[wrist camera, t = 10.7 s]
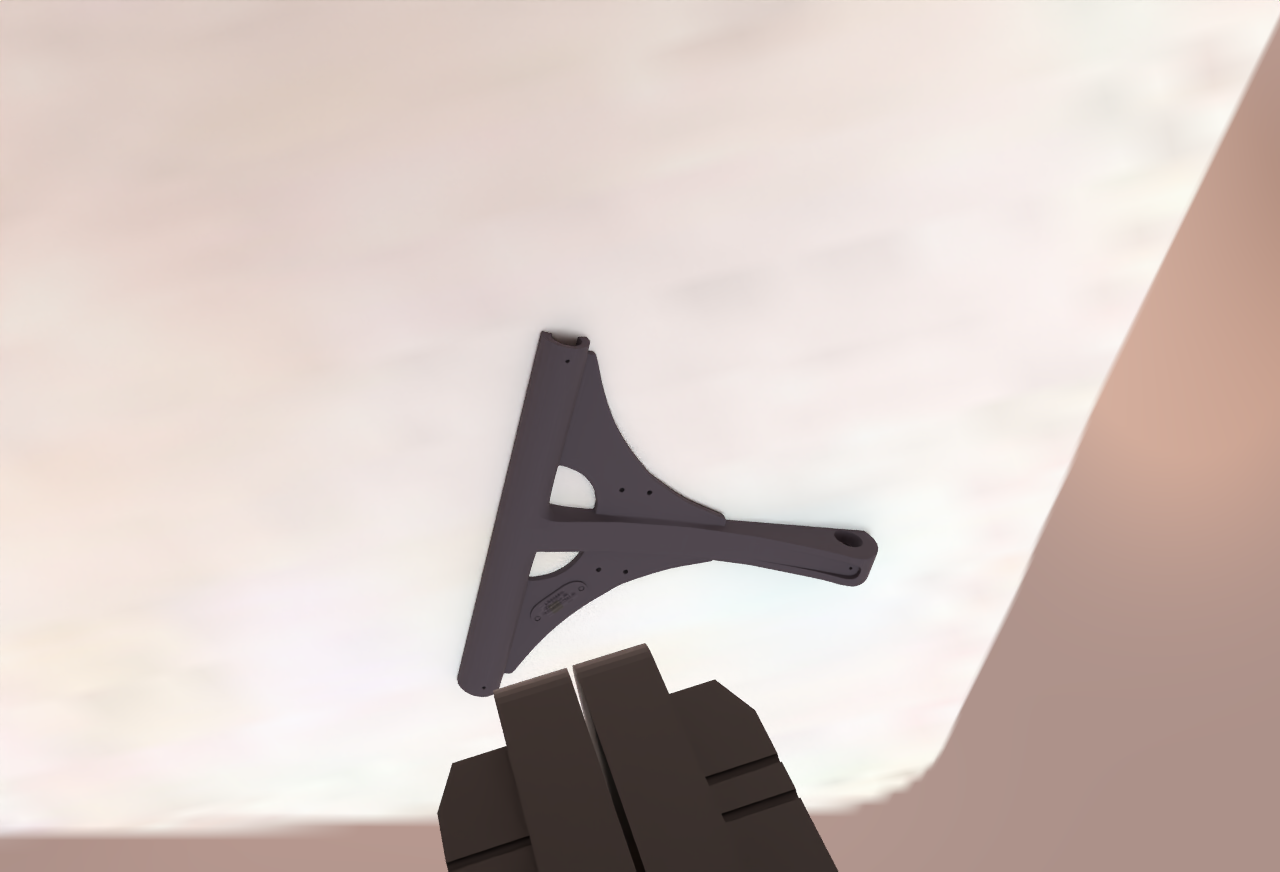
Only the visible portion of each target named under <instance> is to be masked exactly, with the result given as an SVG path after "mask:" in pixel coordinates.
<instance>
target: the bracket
mask: <svg viewBox="0 0 1280 872" xmlns="http://www.w3.org/2000/svg"><path fill="white" fill-rule="evenodd" d="M589 345H590V340H589V339H588V338H587V337H578V339H577V343H576V346H569V345H564V344H562V343H559V342H557V341H556V340H554V339H553V338H552V334H551V333H548V332H544V331H542V333H541V336H540V340H539V345H538V349H537V353H536V357H535V361H534V365H533V369H532V373H531V378H530V382H529V386H528V390H527V394H526V398H525V402H524V406H523V410H522V415H521V419H520V423H519V427H518V431H517V435H516V439H515V443H514V448H513V452H512V456H511V460H510V464H509V468H508V472H507V476H506V480H505V485H504V489H503V493H502V497H501V501H500V505H499V509H498V513H497V518H496V522H495V526H494V530H493V534H492V538H491V542H490V546H489V550H488V555H487V559H486V563H485V567H484V571H483V575H482V579H481V583H480V587H479V592H478V596H477V600H476V604H475V608H474V612H473V616H472V620H471V625H470V629H469V633H468V637H467V641H466V645H465V649H464V653H463V657H462V662H461V666H460V670H459V674H458V679H457V680H458V684H459V686H460V687H461V688H462V689H463V690H464V691H465V692H467V693H469V694H471V695H474V696H479V697H487V696H491V695H493V694H494V693H493V690H496V689H499V687H500V683H501V680H502V677H503V674H504V673H512V672H513V671H514V670H515V669H516V668H517V667H518V665H519V664H520V663H521V662H522V661H523V660H524V658H525V657H526V656H527V655H528V654H529V653H530V652H531V650H532V649H533V648H534V647H535V646H536V645H537V644H538V643H539V642H540V641H541V640H542V639H543V638H544V637H545V636H546V635H547V634H548V633H549V632H550V631H552V630H553V629H554V628H555V627H556V626H557V625H559V624H560V623H561V622H562V621H564V620H565V619H566V618H567V617H569V616H570V615H571V614H573V613H574V612H575V611H577V610H578V609H580V608H581V607H583V606H584V605H586V604H588V603H589V602H591V601H592V600H594V599H596V598H597V597H599V596H601V595H603V594H604V593H606V592H608V591H610V590H611V589H613V588H615V587H616V586H618V585H621V584H623V583H625V582H628V581H631V580H634V579H637V578H640V577H643V576H646V575H649V574H652V573H656V572H659V571H663V570H666V569H670V568H675V567H680V566H685V565H691V564H698V563H703V562H709V561H712V560H717V561H725V562H732V563H740V564H747V565H753V566H758V567H763V568H768V569H773V570H778V571H783V572H788V573H793V574H797V575H802V576H807V577H812V578H817V579H821V580H825V581H829V582H833V583H836V584H840V585H845V586H857V585H860V584H862V583H863V582H865V580H866V579H867V577H868V575H869V572H870V570H871V567H872V565H873V562H874V560H875V557H876V555H877V552H878V546H877V543H876V541H875V540H874V539H873V538H872V537H871V536H870V535H869V534H868V533H866V532H865V531H859V530H846V529H833V528H821V527H809V526H796V525H784V524H771V523H758V522H746V521H733V520H726V519H725V517H724V515H722V514H720V513H718V512H715V511H713V510H711V509H708V508H706V507H703V506H701V505H699V504H697V503H694V502H692V501H690V500H688V499H686V498H684V497H683V496H681V495H679V494H678V493H676V492H674V491H673V490H672V489H670V488H669V487H667V486H666V485H665V484H663V483H662V482H660V481H659V480H658V479H656V478H655V477H654V476H652V475H651V474H650V473H649V472H648V471H647V470H646V469H645V467H644V466H643V465H642V464H641V462H640V461H639V460H638V459H637V457H636V456H635V455H634V454H633V452H632V451H631V449H630V448H629V447H628V445H627V443H626V442H625V440H624V439H623V437H622V435H621V434H620V432H619V430H618V428H617V426H616V424H615V422H614V419H613V417H612V415H611V412H610V409H609V406H608V404H607V400H606V397H605V393H604V389H603V385H602V381H601V376H600V371H599V366H598V361H597V357H596V354H595V353H594V352H593V351H588V349H589ZM559 465H561V466H565V467H568V468H571V469H573V470H576V471H578V472H579V473H581V474H582V475H584V476H585V477H586V478H587V479H588V480H589V481H590V483H591V484H592V486H593V487H594V490H595V496H596V503H595V507H594V509H583V508H572V507H564V506H558V505H553V504H549V501H550V496H551V491H552V487H553V483H554V479H555V475H556V471H557V467H558V466H559ZM841 542H842V543H841ZM843 543H845V544H848V545H850V546H847V545H845V544H843ZM851 546H852V547H851ZM578 551H580V552H579V553H578V555H577V556H576V557H575V558H574V559H573V560H572V561H571V562H570V563H568V564H567V565H566V566H564V567H563V568H561V569H559V570H557V571H555V572H553V573H550V574H546V575H541V576H536V577H529V574H530V570H531V567H532V563H533V560H534V557H535V554H536V552H578Z"/></svg>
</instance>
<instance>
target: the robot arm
mask: <svg viewBox="0 0 1280 872" xmlns="http://www.w3.org/2000/svg"><path fill="white" fill-rule="evenodd" d="M573 672H574V677H575V681H576V685H577V689H578V693H579V697H580V701H581V706H582V710H583V713H582V710H581V707H580V704H579V701H578V698H577V696H576V693H575V690H574V687H573V684H572V681H571V678H570V675H569V673H568V670H567V668H564V669H561V670H558V671H555V672H551V673H548V674H545V675H542V676H538V677H535V678H532V679H529V680H526V681H522V682H519V683H516V684H513V685H509V686H506V687H503V688H500V689H496V690H493V693H494V698H495V702H496V706H497V710H498V714H499V718H500V722H501V726H502V729H503V733H504V737H505V741H506V745H507V746H505V747H502V748H499V749H496V750H493V751H489V752H486V753H483V754H480V755H477V756H474V757H471V758H467V759H464V760H461V761H458V762H455V763H452V766H451V770H450V773H449V776H448V780H447V783H446V786H445V790H444V793H443V796H442V800H441V803H440V806H439V810H438V813H437V814H438V819H439V825H440V831H441V836H442V842H443V848H444V854H445V859H446V864H447V868H448V872H838V870H837V868H836V866H835V864H834V862H833V860H832V858H831V856H830V855H829V853H828V851H827V849H826V847H825V845H824V843H823V841H822V839H821V837H820V835H819V833H818V831H817V830H816V827H815V826H814V823H813V822H812V820H811V818H810V816H809V814H808V812H807V810H806V808H805V806H804V804H803V802H802V800H801V798H798V795H797V793H796V789H795V787H794V785H793V783H792V781H791V779H790V777H789V775H788V773H787V771H786V769H785V767H784V765H783V763H782V762H780V761H779V758H778V755H777V752H776V750H775V748H774V746H773V744H772V742H771V740H770V738H769V736H768V734H767V732H766V731H765V729H764V727H763V725H762V723H761V721H760V719H759V717H758V715H757V713H756V711H755V710H754V709H753V708H751V707H750V706H749V705H748V704H746V703H745V702H744V701H742V700H741V699H740V698H738V697H737V696H736V695H734V694H733V693H732V692H730V691H729V690H728V689H727V688H725V687H724V686H723V685H721V684H720V683H719V682H717V681H716V680H712V681H709V682H706V683H703V684H699V685H696V686H693V687H690V688H687V689H684V690H681V691H677V692H674V693H671V694H669V693H668V691H667V688H666V686H665V684H664V681H663V679H662V677H661V674H660V672H659V670H658V668H657V665H656V663H655V661H654V658H653V656H652V654H651V652H650V650H649V648H648V646H647V645H646V644H645V643H644V644H641V645H637V646H634V647H631V648H628V649H625V650H621V651H618V652H615V653H612V654H608V655H605V656H602V657H599V658H595V659H592V660H589V661H586V662H583V663H579V664H576V665H573ZM583 714H584V716H583ZM584 718H585V719H584Z"/></svg>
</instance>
